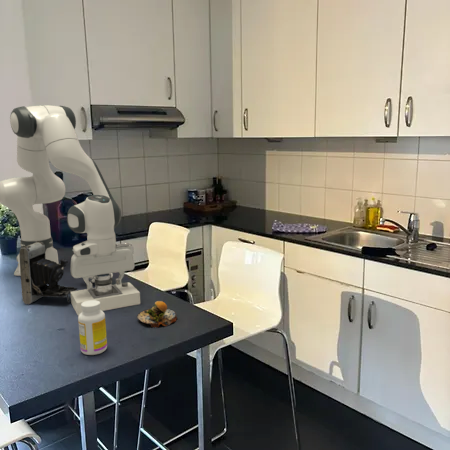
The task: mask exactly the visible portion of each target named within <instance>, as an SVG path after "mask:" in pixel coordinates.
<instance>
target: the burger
mask: <svg viewBox="0 0 450 450" xmlns="http://www.w3.org/2000/svg"><path fill="white" fill-rule="evenodd" d="M136 317H137V320H139V321H140V322H141V323H144V324H147V325H150V327H151V328H153V327H154V328H153V329H155V327H156V328H160V325H162V326H164V327H168V326H170V325H171V324H172V323H176V322H177V313H176V311H175V310H173V309H171V308H168V304H166V303H165V302H164V301H163V300H157V301H155V302H154V304H153V305H152V307H151V308H148V309H145V310H142V311H140V312H139V313H138V314H137V316H136Z"/></svg>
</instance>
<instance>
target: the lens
mask: <svg viewBox="0 0 450 450" xmlns="http://www.w3.org/2000/svg"><path fill="white" fill-rule="evenodd" d="M94 285H95V288H96V296H101V295H107V294H112V285H113V277H111V273H109V274H102V275H95V282H94Z"/></svg>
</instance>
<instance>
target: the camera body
mask: <svg viewBox="0 0 450 450" xmlns="http://www.w3.org/2000/svg"><path fill="white" fill-rule="evenodd" d="M69 295H70V302H71V305H72V307H73V309H74V311H75V313H76V315H77V316H79V314H80V313H82V309H81V304H82V303H83V302H85V301H90V300H97V301H99V302H100V310H102V311H103V312H104V311H109V310H114V309H119V308H127V307H131V306H137V305H141V292H140V291H139V290H138V289H137V288H136V287H135V286H134V285H133V284H132V283H131V282H121V284H120V285H117V284H116V283H115V284H112V294H107V295H101V296H96V287H93V289H89V290H88V289H87V288H84V289H77V290H75V291H72V292H70V294H69Z"/></svg>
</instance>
